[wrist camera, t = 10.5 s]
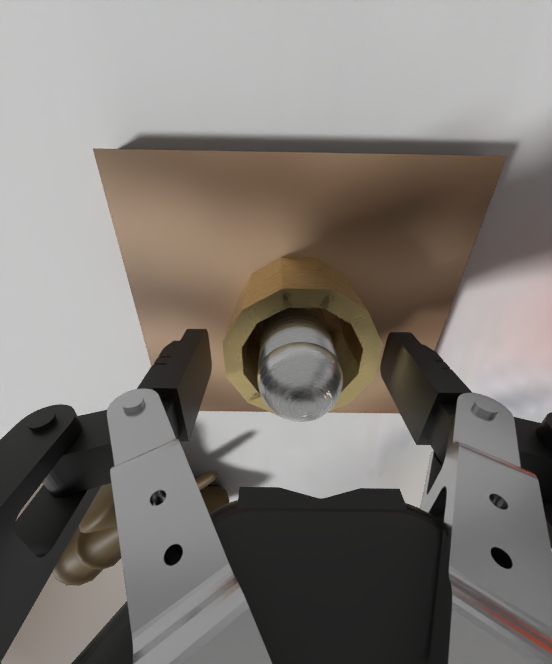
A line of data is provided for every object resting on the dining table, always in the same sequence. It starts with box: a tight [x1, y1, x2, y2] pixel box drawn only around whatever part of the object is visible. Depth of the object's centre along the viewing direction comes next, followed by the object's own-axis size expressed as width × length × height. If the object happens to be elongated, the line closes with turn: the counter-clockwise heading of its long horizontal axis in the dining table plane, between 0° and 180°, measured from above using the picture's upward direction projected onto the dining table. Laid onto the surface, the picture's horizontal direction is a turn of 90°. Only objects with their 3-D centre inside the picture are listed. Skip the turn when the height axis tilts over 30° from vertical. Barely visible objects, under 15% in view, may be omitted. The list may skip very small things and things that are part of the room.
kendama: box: [52, 471, 229, 586], centre depth 22 cm, size 6×10×20 cm
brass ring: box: [223, 257, 383, 415], centre depth 12 cm, size 6×6×4 cm
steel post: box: [257, 308, 343, 422], centre depth 11 cm, size 3×3×6 cm
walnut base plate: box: [93, 149, 507, 413], centre depth 15 cm, size 14×16×2 cm
